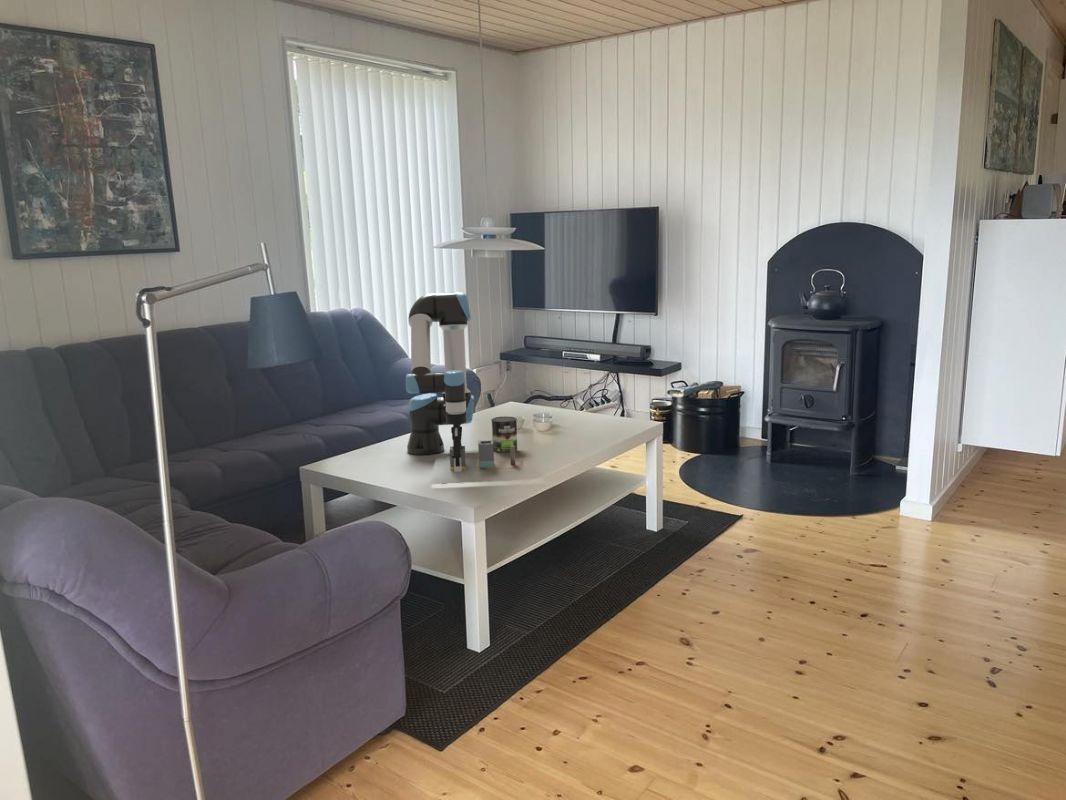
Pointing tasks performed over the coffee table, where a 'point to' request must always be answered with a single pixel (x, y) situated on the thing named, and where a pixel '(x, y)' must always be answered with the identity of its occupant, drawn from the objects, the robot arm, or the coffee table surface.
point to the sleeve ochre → (463, 457)
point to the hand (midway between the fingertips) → (458, 470)
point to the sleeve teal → (486, 454)
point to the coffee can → (504, 433)
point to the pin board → (505, 462)
